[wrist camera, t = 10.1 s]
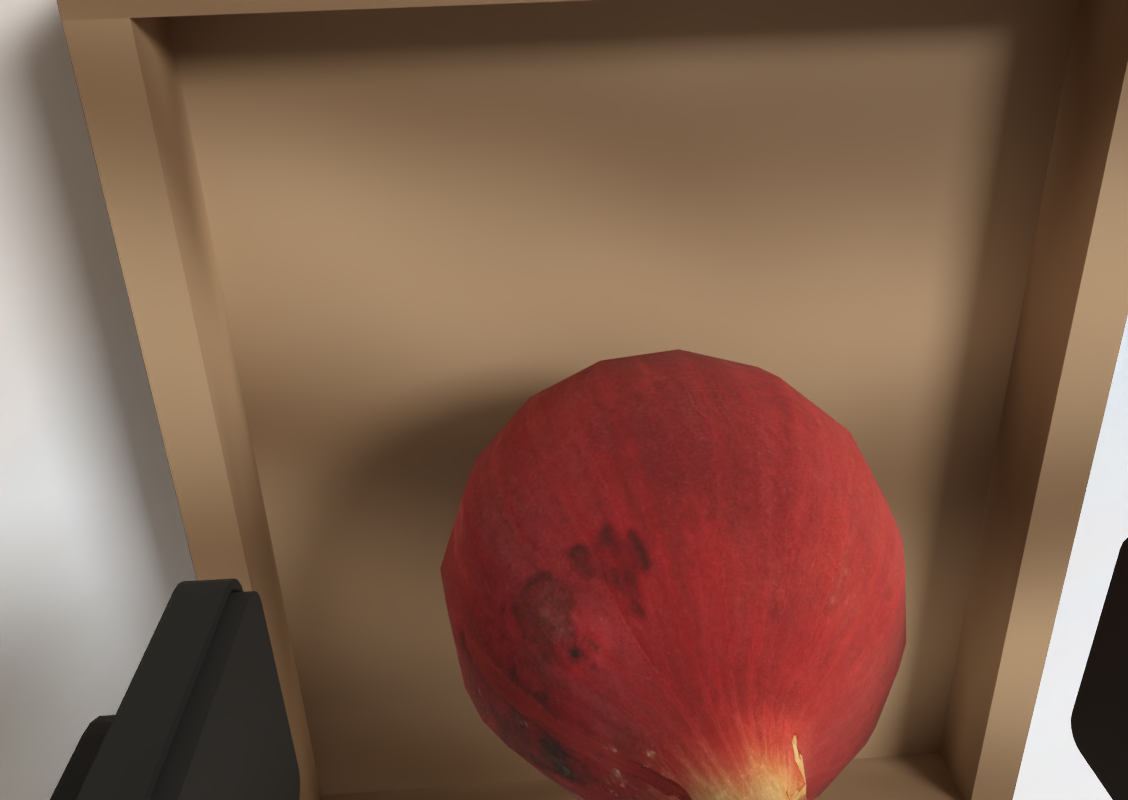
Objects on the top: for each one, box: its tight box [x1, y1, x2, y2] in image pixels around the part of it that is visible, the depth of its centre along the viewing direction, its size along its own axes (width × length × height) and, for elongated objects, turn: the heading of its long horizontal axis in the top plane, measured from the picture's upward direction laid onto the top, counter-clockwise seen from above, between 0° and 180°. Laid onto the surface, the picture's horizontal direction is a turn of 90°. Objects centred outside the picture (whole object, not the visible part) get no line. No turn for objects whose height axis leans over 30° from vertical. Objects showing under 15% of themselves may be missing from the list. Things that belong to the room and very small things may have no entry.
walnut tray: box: [57, 0, 1128, 800], centre depth 16 cm, size 16×14×3 cm
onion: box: [440, 349, 906, 800], centre depth 12 cm, size 6×6×8 cm
